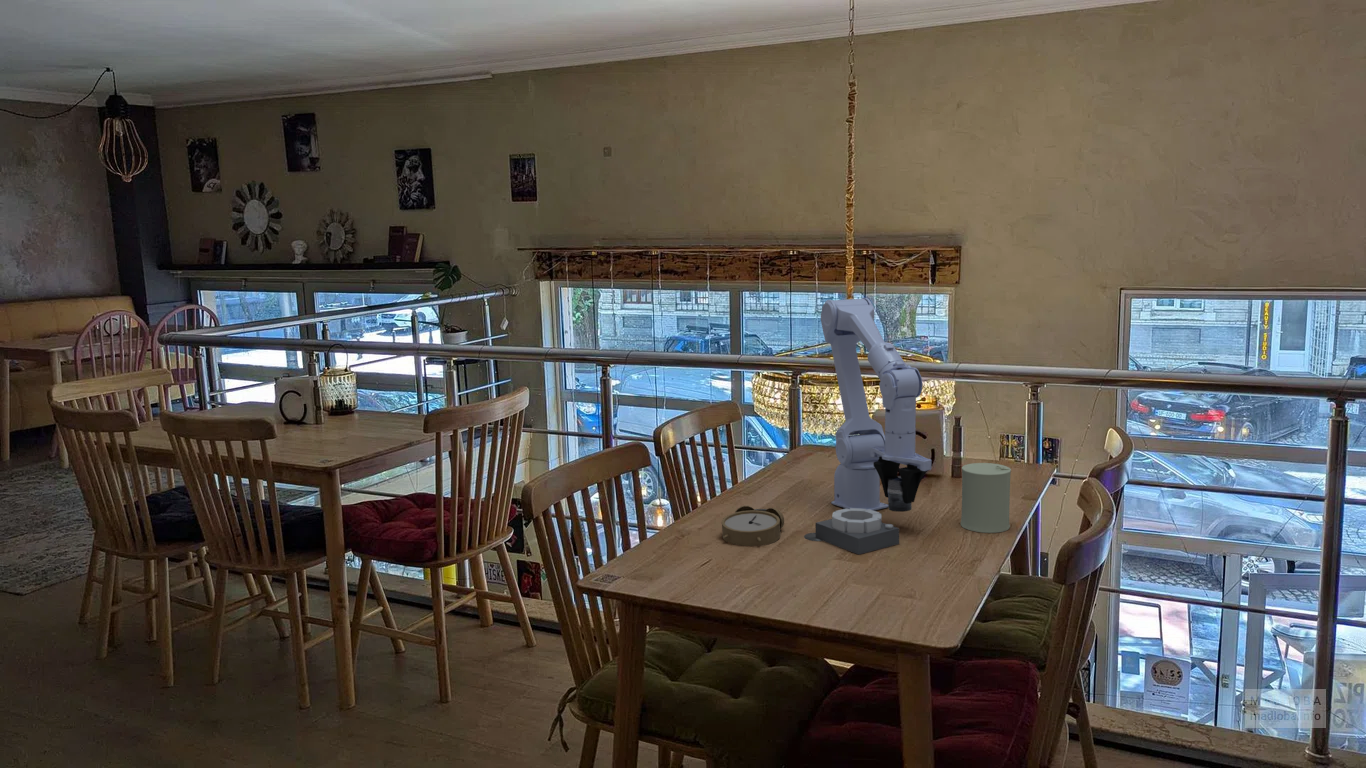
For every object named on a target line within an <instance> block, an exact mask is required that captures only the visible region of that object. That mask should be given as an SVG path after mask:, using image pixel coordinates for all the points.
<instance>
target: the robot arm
mask: <svg viewBox="0 0 1366 768" xmlns="http://www.w3.org/2000/svg"><path fill="white" fill-rule="evenodd" d="M820 323H821V328H822V333H823V336H824V340H825V342H826V343H828V344H829V345H830V348H831V352H832V358H833V364H834V368H835V373H836V379H837V384H838V389H839V393H840V400H841V403H842V409H843V410H842V411H843V415H844V419H845V420H844V421H845V422H843V423H842V424H841V425H840V427H838V429H837V430H836V432H835V453H836V458H837V460H838V461H839V463H840V464H838V465H837V467H836V469H835V471H834V474H833V475H834V476H833V477H834V479H833V481H834V485H833V486H834V487H833V488H834V491H833V492H834V495H833V496H834V497H833V498H834V500H832V501H831V504H832V505H834V506H837V507H840V508H843V509H846V508H847V509H850V508H861V509H866V510H868V509H870V510H873V511H878V510H882V509H886V508H888V504H887V503H884V502H880V499H881V498H880V497H881V493H880V492H881V491H880V490H881V488H880V487H881V486H882V489H883V494H884V496H885V498H887V499H888V494H887V487H888V478H889V477H893V476H898V473H899V474H900V475H899V476H901V479H902V485H903V499H904V503H906V504H908V503H911V504H912V503H915V500H916V497H917V492H918V489H919V486H920V484H921V482H922V480H923V478H924V477H925V475H926V473H927V472H928V471H931V470H932V459H930V458H927V457H924V456H923V455H920V454H919V453H916V431H917V428H916V424H917V423H916V417H917V416H916V414H917V398H919V397H920V395H921V393H922V391H923V379H922V378H923V377H922V374H920V371H919V369H918V368H917V367H912V366H911V365H909V364H908V365H907V364H906V362H905V361H904V359H903V358H902V357H901V355H900V353H899V352H898V350H897V349H896V347H895V345H893V343H890V342H886V341H885V340H884V338H883V336H882V334H881V333H880V329H879V328H878V326H877V325H876V323H875V307H874V305H873V303H872V302H871V300H870V299H869V298H868V297H862V298H852V299H849V298H847V299H833V300H832V299H827V300H825V301H824V303H823V305H822V307H821V312H820ZM859 342H861V343H862V344H863V346H864V347H865V348H866V350H867V351H868V354H867V361H868V363H869V364H870V367H871V368H872V369H873V371H874V372H875V374H876V376H877V377H878V379H879V380H880V382H879V383H878V384H879V391H880V394H881V399H882V400H881V401H882V403H881V404H882V407H883V408H884V409H885V410H884V411H885V414H884V415H885V416H884V417H885V418H884V419H885V420H884V427H883V426H882V424H881V423H879V422H878V421H876V420H875V419H873V418H872V417H871V416H870V412H869V407H868V403H867V396H866V393H865V392H866V391H865V389H864V383H863V377H862V373H861V368H860V364H859V357H858V353H857V352H858V351H857V343H859ZM900 465H905V467H900ZM880 483H881V484H880ZM880 485H881V486H880Z"/></svg>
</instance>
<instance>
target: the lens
mask: <svg viewBox="0 0 1366 768" xmlns="http://www.w3.org/2000/svg"><path fill="white" fill-rule="evenodd" d="M887 494H888V498H887V500H888V501H887V503H888V504H887V505H888V507H887V508H888V510H889V511H891V512H898V513H904V512H910V511H911V510H912V506H913V505H912V503H908V504H906V503H904V499H903V485H902V479H901V476H900V475H897V476H893V477H889V478H888V487H887Z"/></svg>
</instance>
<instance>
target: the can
mask: <svg viewBox="0 0 1366 768" xmlns="http://www.w3.org/2000/svg"><path fill="white" fill-rule="evenodd" d="M1011 474H1012V469H1011V467H1009V466H1006V465H1004V464H999V463H990V462H974V463H968V464H964V465H963V466H962V467H961V477H962V479H961V516H960V517H961V518H960V526H961V528H963V529H965V530H968V531H971V532H977V533H982V534H985V533H986V534H995V533H997V534H998V533H1003V532H1006V531H1008V530H1009V529H1010V528H1011V525H1010V504H1011V503H1010V502H1011V501H1010V500H1011V499H1010V495H1011V493H1010V492H1011Z"/></svg>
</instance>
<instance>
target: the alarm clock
mask: <svg viewBox="0 0 1366 768" xmlns="http://www.w3.org/2000/svg"><path fill="white" fill-rule="evenodd" d="M720 523H721V531H722V532H721V533H722V534H721V535H722V540H723V541H725V542H726V543H728V542H729V544H731V543H732V545H737V546H743V547H761V546H766V545H770V544H773V543H775V542H777V541H778V540H779V539H780V538H781V535H782V534H781V529H782V528H784V524H785V517H784V515H783V513H782V511H781V510H780V509H778V508H776V507H769V508H755V509H754V508H753V507H752V506H750V505H741V506H739V507H737V508H736V510H735V511H734V512H732V513H730V514H727V515H726V516H724V517H723V518H722V519H721V522H720Z"/></svg>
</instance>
